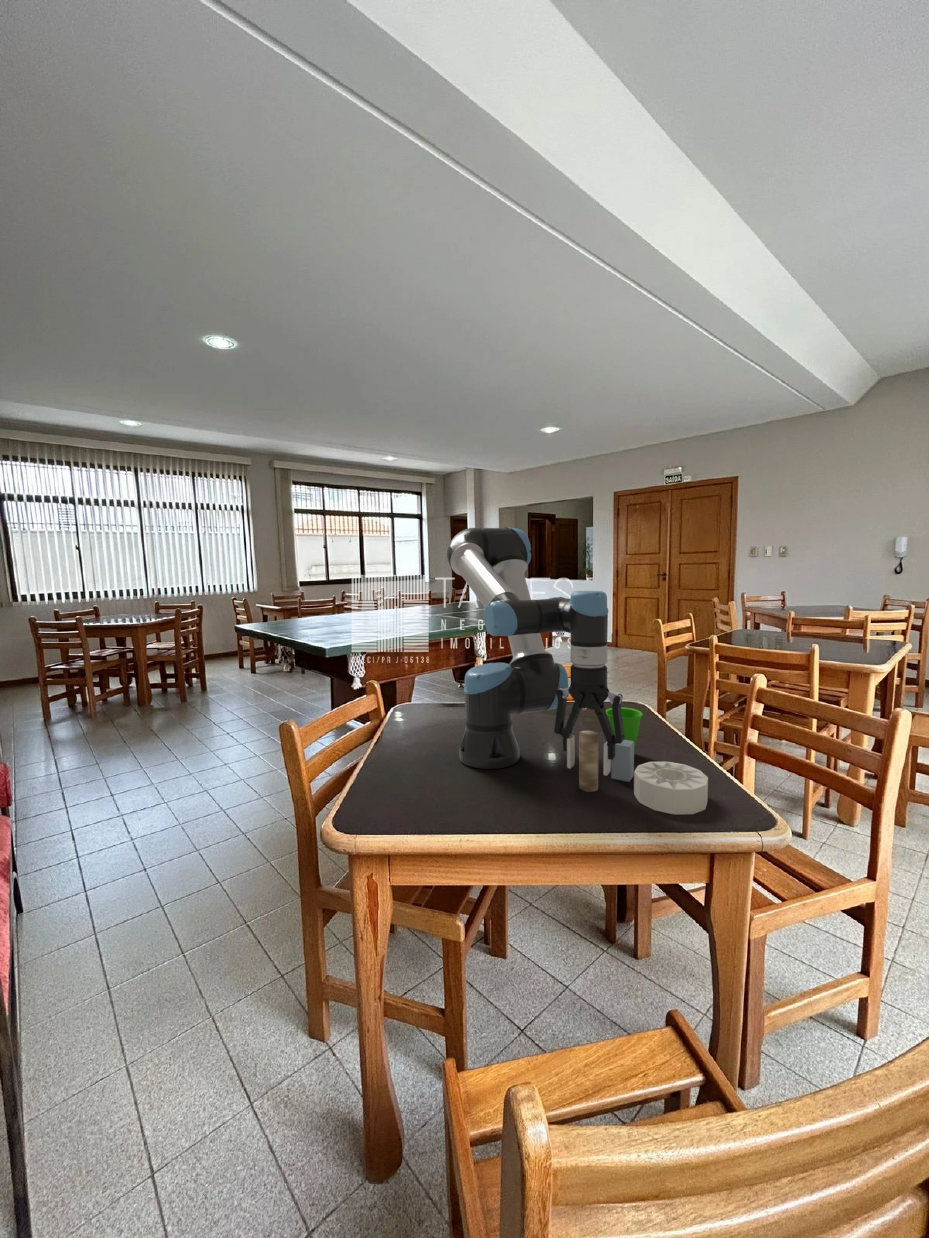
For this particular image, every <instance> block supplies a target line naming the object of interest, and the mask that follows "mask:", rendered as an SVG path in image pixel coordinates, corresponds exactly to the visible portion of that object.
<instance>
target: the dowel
mask: <svg viewBox="0 0 929 1238" xmlns="http://www.w3.org/2000/svg"><path fill="white" fill-rule="evenodd" d="M578 788H579V789H580V790H581V791H584V792H586V793H587V792H589V793H593V792H597V791H598V790H599V733H598V732H597V731H593V730H582V731H579V732H578Z"/></svg>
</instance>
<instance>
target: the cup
mask: <svg viewBox="0 0 929 1238" xmlns="http://www.w3.org/2000/svg"><path fill="white" fill-rule="evenodd" d="M621 711H622V719H623V727H624V735H625V739H624V740H630V741H634V755H636V753H635V752H636V746H637V741H638V737H639V732H640V726H641V720H642V717H643V715H644V713H643V712H642V711H640V710H638V709H636V708H632V707H622V706H621ZM606 713H607V716H608V719H609V721H610V724H611V727H612V729H613V732H614V735H615V729H614V721H613V713H612V707H610V708H608V709H606Z"/></svg>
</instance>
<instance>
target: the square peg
mask: <svg viewBox="0 0 929 1238" xmlns="http://www.w3.org/2000/svg"><path fill="white" fill-rule="evenodd" d="M634 768H635V754H634V741H630V740H623V742H622V743H621V744H615V757H614V759H613V760H611V771H610V772H611V773H610V774H611V775H610V777H611V779H612V780H617V781H623V782H627V783H628V782H629V783H630V782H631V780H632V779H633V778H634V771H635V769H634Z"/></svg>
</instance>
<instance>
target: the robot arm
mask: <svg viewBox="0 0 929 1238" xmlns="http://www.w3.org/2000/svg"><path fill="white" fill-rule="evenodd" d="M446 550H447V551H446V557H447V558H446V559H447V562H448V565H449V567H450V568H451V569H452V571H453V572H454V573H455V574H456V575H459V576H461V577H462V578H463V580H464V581H465V582H466V584H467V585H468V586H469V587H470V589H471V591H472V592H473V593H474V595H475V596H476V597H477V599H478V601H479V602H480V603H481V605H482V606H483V607H484V611H483V612H484V614H483V621H484V625H485V630H486V631H487V633H489V635H490V636H494V637H499V636H500V637H508V643H509V646H510V650H511V654H512V659H511V661H510V662H509V663H506V662H489V663H488V662H487V663H483V664H480V665H476V666H473V667H471V668H470V669H468V670H467V671H466V673H465V675H464V687H463V693H464V716H465V717H464V718H465V728H464V733H463V736H462V740H461V743H460V746H459V750H458V753H459V756H458V757H459V761H460V762H461V763H462V764H464V765H465V766H467V767H471V768H475V769H484V770H495V769H497V770H498V769H503V768H507V767H511V766H513V765H515V764H516V763H518V762H519V760H520V747H519V744H518V741H517V739H516V735H515V732H514V729H513V715H520V714H528V713H536V712H548V711H550V710H556V715H555V722H554V729H553V730H554V731H553V732H554V733H555V734H556V735H559V736H562V749H563V752H567V753H566V762H567V763H566V768H567V769H569V770H570V769H572V768H573V767H574V766H575V763H576V761H575V760H576V759H575V754H576V753H575V751H576V750H575V735H573V730H574V726H575V725H576V722H577V720H578V717H579V714H580V712H581V710H582V709H589V710H594V713H595V715H596V717H597V719H598V722H599V724H600V727H601V729H602V732H603V736H604V738H605V740H606V742H604V743H603V766H602V768H603V771H602V772H603V776H608V775H609V774H610V772H611V760H613V759H614V757H615V744H621V743H622V742H623V740H624V739H625V735H624V727H623V719H622V711H621V707H622V701H623V698H624V697H623V694H622V693H618V694H616V693H613V692H610V690H609V687H608V667H607V665H606V664H608V630H609V629H608V628H609V627H608V623H609V622H608V621H609V620H608V617H609V608H608V595H607V594H606V592H604V591H603V590H578V591H577V590H576V591H573V592H572V593H571V594H570V598H568V597H567V598H565V597H563V596H558V597H556V596H555V597H550V598H541V599H532V598H531V595H530V591H529V587H528V584H527V580H526V575H525V572H526V571H527V569H528V565H529V564H530V562H531V559H532V552H531V551H532V547H531V542H530V539H529V537H528V535H527V534H526V532H525V531H523V530H522V529H520V528H516V527H515V528H514V527H509V526H506V527H505V526H504V527H470V528H466V529H465V528H464V529H463V530H461V531H460V532H458V533H457V534H456V535H454V537H453V538H451V540H450V542H449V544H448V546H447V549H446ZM559 632H564V633H569V634H570V636H569V637H570V663H571V664H572V665H571V666H570V685H569V676H568V672H567V669H566V668H565V667H564V665H562V664H561V663H558V662H555V660H554V658H553V654H552V653H551V652H549V651H547V650H545V646H544V642H543V639H542V635H541V634H544V633H545V634H546V633H559ZM569 695H570V696H571V698H572V700H573V702H574V703H573V705H572V707H571V712H570V714H569V716H568V719H567V722H566V724H565V718H566V717H565V716H566V710H567V702H568V698H569ZM607 699H609V703H610V705H612V706H611V708H612V713H613V721H614V729H615V735H614V732H613V729H612V727H611V724H610V721H609V719H608V716H607V713H606V710H607V709H606V706H605V704H604V703H605V701H606V700H607ZM571 734H572V735H571Z"/></svg>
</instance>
